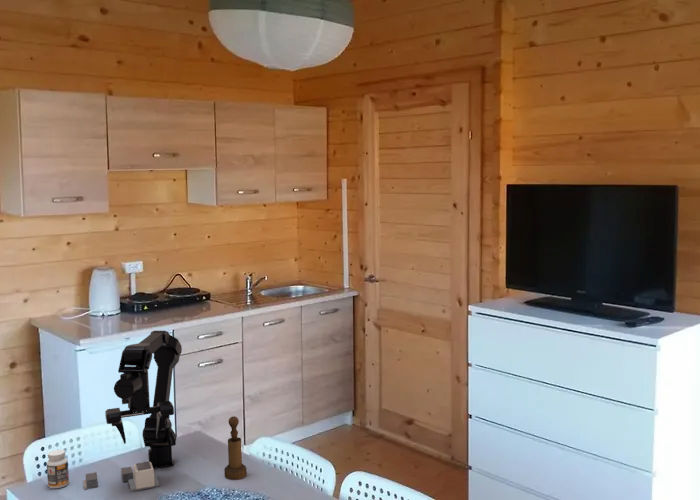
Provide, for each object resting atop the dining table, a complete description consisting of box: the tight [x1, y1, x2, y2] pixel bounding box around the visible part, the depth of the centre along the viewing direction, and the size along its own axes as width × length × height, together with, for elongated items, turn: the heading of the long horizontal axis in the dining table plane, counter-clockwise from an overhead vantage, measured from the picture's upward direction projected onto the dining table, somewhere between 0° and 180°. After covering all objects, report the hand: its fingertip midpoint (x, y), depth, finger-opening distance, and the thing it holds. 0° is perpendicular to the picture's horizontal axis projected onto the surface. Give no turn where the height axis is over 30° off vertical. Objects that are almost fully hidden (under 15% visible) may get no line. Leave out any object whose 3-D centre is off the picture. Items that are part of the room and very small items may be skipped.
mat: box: [128, 473, 160, 492], centre depth 212 cm, size 8×8×1 cm
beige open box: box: [133, 461, 155, 489], centre depth 211 cm, size 5×6×6 cm
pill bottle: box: [46, 449, 70, 489], centre depth 212 cm, size 6×6×10 cm
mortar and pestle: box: [223, 415, 248, 480], centre depth 216 cm, size 7×6×18 cm
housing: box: [82, 466, 134, 491], centre depth 214 cm, size 15×6×2 cm, turn 113°
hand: (141, 440), depth 211 cm, fingers open, 9 cm apart
